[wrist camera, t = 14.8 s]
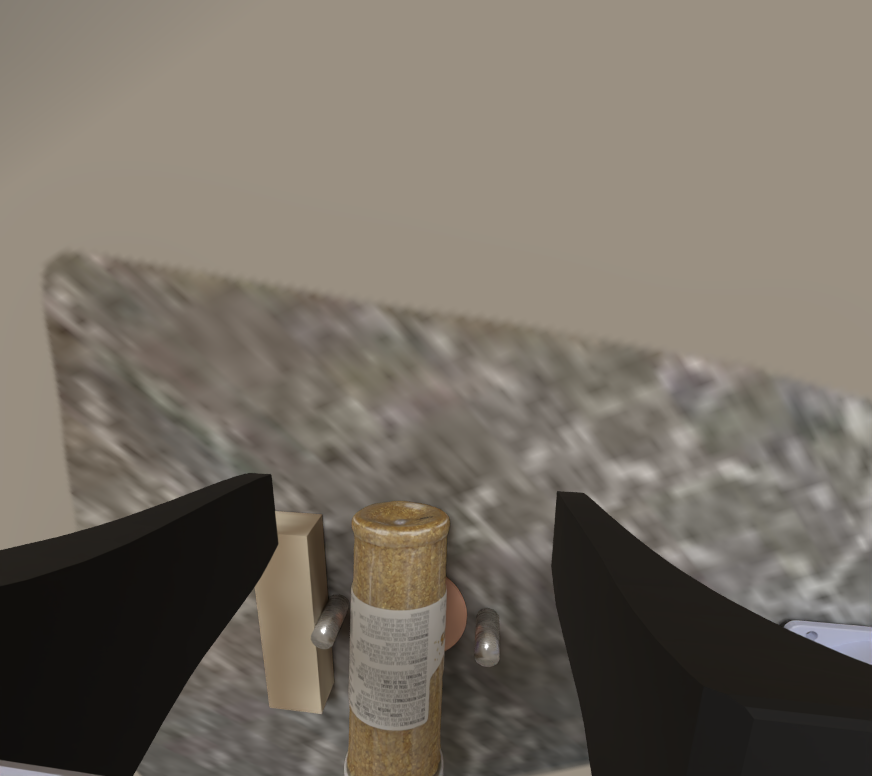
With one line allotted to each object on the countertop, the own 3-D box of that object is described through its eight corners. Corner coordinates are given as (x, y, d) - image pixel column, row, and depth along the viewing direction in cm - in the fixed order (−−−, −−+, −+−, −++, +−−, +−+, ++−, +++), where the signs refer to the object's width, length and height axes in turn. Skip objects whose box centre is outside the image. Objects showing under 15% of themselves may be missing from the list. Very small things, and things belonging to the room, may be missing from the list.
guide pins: (499, 609, 24) (499, 647, 21) (496, 689, 25) (496, 733, 23) (327, 593, 25) (310, 628, 22) (333, 670, 26) (317, 711, 24)
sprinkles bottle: (438, 497, 23) (431, 749, 24) (348, 499, 22) (343, 762, 23) (462, 528, 19) (452, 838, 19) (351, 533, 18) (344, 859, 18)
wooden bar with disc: (468, 524, 23) (466, 548, 21) (465, 696, 26) (462, 731, 24) (267, 510, 24) (248, 531, 22) (285, 675, 27) (269, 707, 25)
